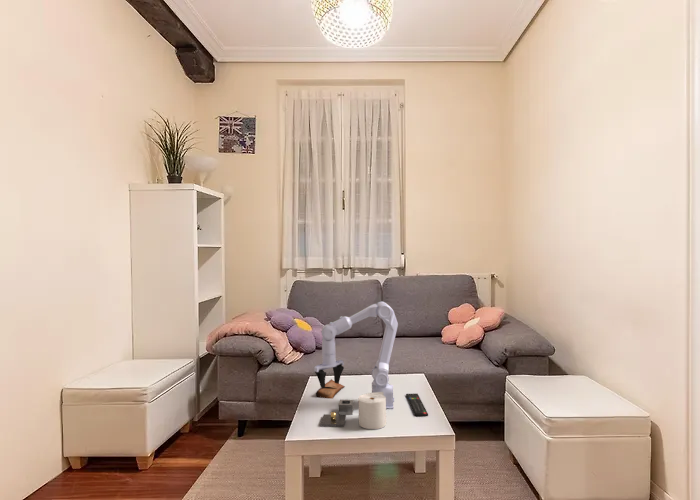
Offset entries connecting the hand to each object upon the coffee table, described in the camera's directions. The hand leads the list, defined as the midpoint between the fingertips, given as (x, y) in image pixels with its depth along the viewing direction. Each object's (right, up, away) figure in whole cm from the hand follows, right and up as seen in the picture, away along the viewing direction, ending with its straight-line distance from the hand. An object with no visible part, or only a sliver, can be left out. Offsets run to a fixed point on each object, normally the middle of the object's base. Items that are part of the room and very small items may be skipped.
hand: (329, 385), depth 180 cm
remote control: (+37, -10, +1) cm, 38 cm away
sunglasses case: (0, -10, +20) cm, 22 cm away
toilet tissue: (+17, -10, -16) cm, 26 cm away
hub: (+2, -10, -14) cm, 18 cm away
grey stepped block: (+7, -10, -5) cm, 13 cm away
